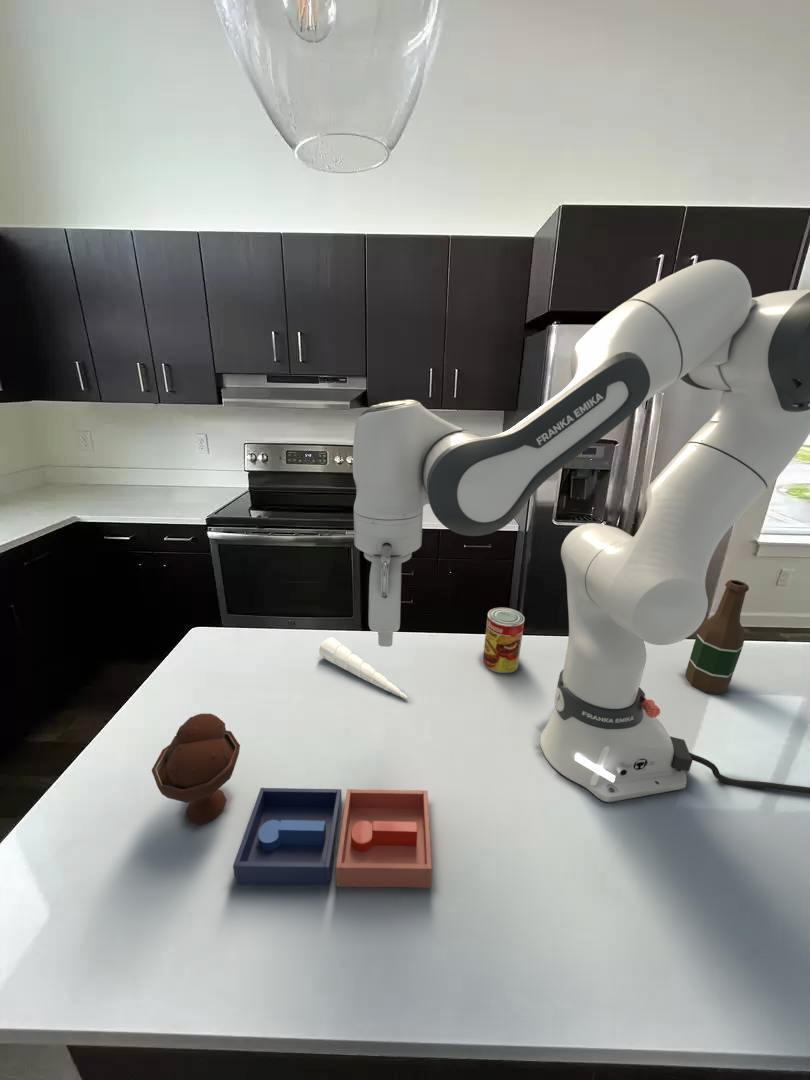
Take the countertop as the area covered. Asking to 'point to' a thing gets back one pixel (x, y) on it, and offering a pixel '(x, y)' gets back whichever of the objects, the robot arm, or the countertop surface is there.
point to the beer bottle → (719, 643)
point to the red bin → (380, 860)
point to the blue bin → (290, 860)
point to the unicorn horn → (355, 665)
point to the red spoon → (383, 834)
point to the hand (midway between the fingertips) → (386, 624)
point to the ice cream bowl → (198, 766)
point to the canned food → (503, 639)
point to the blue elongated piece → (291, 833)
